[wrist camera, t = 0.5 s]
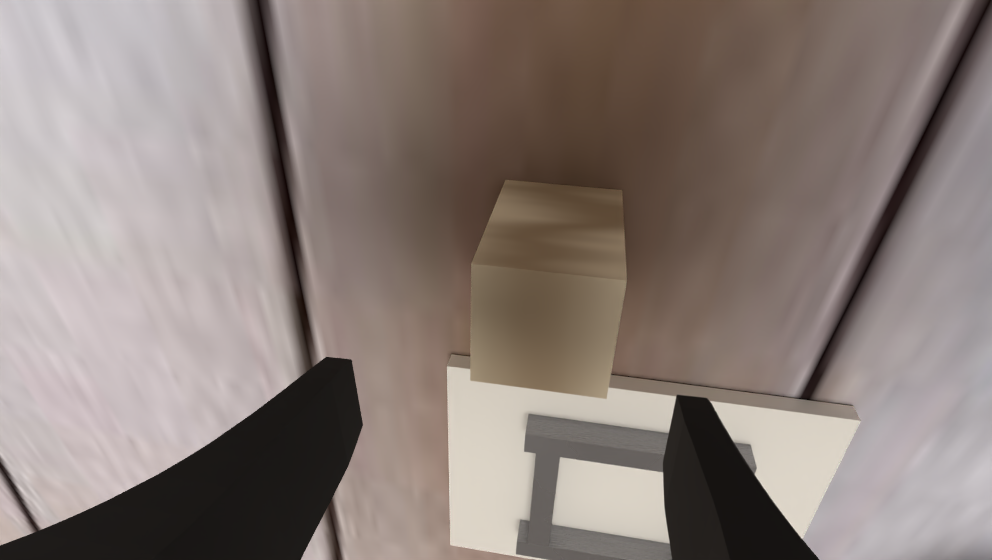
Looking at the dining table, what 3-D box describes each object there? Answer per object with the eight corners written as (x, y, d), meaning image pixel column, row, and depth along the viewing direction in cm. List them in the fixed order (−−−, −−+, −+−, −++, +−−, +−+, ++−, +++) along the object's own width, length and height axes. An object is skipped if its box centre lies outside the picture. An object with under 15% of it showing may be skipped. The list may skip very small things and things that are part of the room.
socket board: (853, 405, 23) (873, 444, 21) (768, 584, 29) (778, 625, 27) (451, 354, 24) (439, 385, 23) (453, 531, 31) (444, 566, 29)
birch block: (622, 189, 20) (627, 280, 15) (606, 289, 22) (606, 399, 17) (505, 179, 20) (471, 263, 15) (501, 277, 22) (470, 380, 17)
